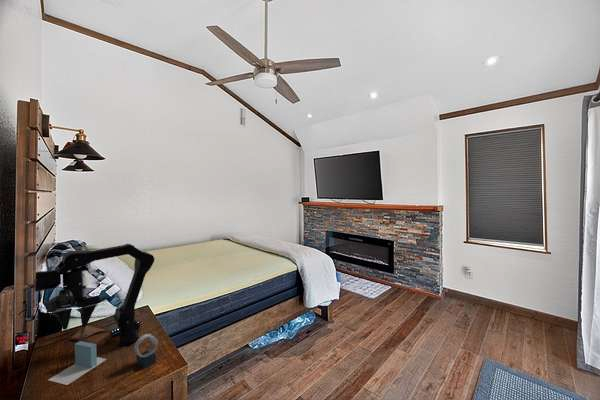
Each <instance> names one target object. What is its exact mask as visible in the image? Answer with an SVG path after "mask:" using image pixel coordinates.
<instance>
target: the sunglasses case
mask: <svg viewBox="0 0 600 400" xmlns="http://www.w3.org/2000/svg"><path fill="white" fill-rule="evenodd" d="M114 337H115V336H114V332H112V331H111V330H106V329H103V328H100V327H97V326H96V327H95V326H91V325H87V326H86V327H82V326H81V328H80V329H79V330H78V331H77V332H76V333H75V334H73V335H72V336H71V337H70V338H68V341H74V342H79V341H83V342H88V343H93V344H96V346H98V345H100V344H102V343H104V342H106V341H108V340H109V339H112V338H114Z"/></svg>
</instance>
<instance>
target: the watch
mask: <svg viewBox="0 0 600 400" xmlns="http://www.w3.org/2000/svg"><path fill="white" fill-rule="evenodd" d="M145 339H147V340H148V341H149V343H151V344H152V346H151V348H150V349H147V350H146V351H143V352H140V350H139V345H140V344H141V342H143V340H145ZM158 343H159V340H158V339H157V338H156V336H154V335H152V333H145V334H143V335H141V336H140V338H139V339H138V340H137V341H136V342H135V343H134V347H133V351H134V353H135V354H136V364H137V365H139V367H140V368H142V369H143V370H146V369H147V368H149V367H151V366H152V365H155V364H156V363H157V361H156V360H157V356H156V354H155V353H154V352H155V350H156V349H157V346H158Z"/></svg>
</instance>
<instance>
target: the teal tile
mask: <svg viewBox="0 0 600 400" xmlns="http://www.w3.org/2000/svg"><path fill="white" fill-rule="evenodd" d="M97 355H98V354H97V345H96V344H93V343H88V342H83V341H76V342H75V343H74V360H75V361H74V364H75V365H80V366H84V367H88V368H93V367H94V366H96V365H97V357H98V356H97ZM97 366H98V365H97ZM97 366H96V367H97ZM94 368H95V367H94ZM94 368H93V369H94Z"/></svg>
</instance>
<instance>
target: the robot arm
mask: <svg viewBox="0 0 600 400" xmlns="http://www.w3.org/2000/svg"><path fill="white" fill-rule="evenodd" d="M126 255H129V256H130V257H131V258H134V266H133V267H134V272H133V275H132V278H131V281H130V284H129V287H128V290H127V291H126V294H125V295H126V296H125V298H124V301H123V303H122V305H121V306H120V307H116V308H115V312H114V314H113V316H112V318H113V322H114V324H115V325H116V326H117V327H118V328H119V329H120V331H119V338H118V339H119V340H118V342H117V346H123V347H127V348H128V347H131V346H132V345H135V343H136V341H137V340H138V339H139V338H140V337H141V336H140V337H139V330H140V325H141V324H140V323H139V322H138V321H137V320H136V319H135V315H136V314H135V313H136V312H135V310H136V309H135V307H136V304H137V301H138V298H139V296H140V295H139V294H140V292H141V289H142V287H143V283H144V280H145V277H146V275H147V273H148V272H149V271H150V270H151V268H152V267H153V265H154V263H155V257H154V255H153V254H151V253H150V252H147V251H142V250H141V249H138V248H137V247H135V246H134V245H132V244H131V243H125V244H122V245H117V246H111V247H104V248H100V249H94V250H70V251H67V252H65V253H64V255H62V257H61V261H60V262H59V263H58V264H57V265H56V267H55V268H54V269H50V270H46V271H45V270H43V271H41V270H40V271H36V272H35V275H34V280H33V289H34V293H37V292H43V291H48V290H53V289H57V288H58V287H60V285H61V284H62V289H60V290H59V291H58V295H56V296H54V297H51V298H50V299H49V300H46V301H44V302H43V306H44V309H45V310H46V313H47V314H48V313H49V315H50V316H51V315H52V316H54V317H56V318H57V320H58V322H59V324H60V326H61V328H62V330H63V331H64V330H65V331H66V330H67V329H68V326H69V323H70V320H71V314H72V311H73V308H72V307H74V308H75V307H77V308H76V309H75V310H76V311H77V312H79V313H80V314H79V315H80V321H81V325H82V326H81V328H82V327H86V326H88V323H89V322H90V319H91V318H92V317H91V316H92V315H93V313H94V312H95V309H96V307H98V306H99V303H101V297H100V296H99V295H93V296H88V297H87V296H86V295H85V296H84V289H86V288H87V286H86V285H87V284H86V285H84V284H83V283H84V280H83V272H86V271H89V267H87V266H86V265H88V264H91V263H93V262H95V261H100V260H106V259H111V258H115V257H121V256H126ZM61 277H62V278H61Z"/></svg>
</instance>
